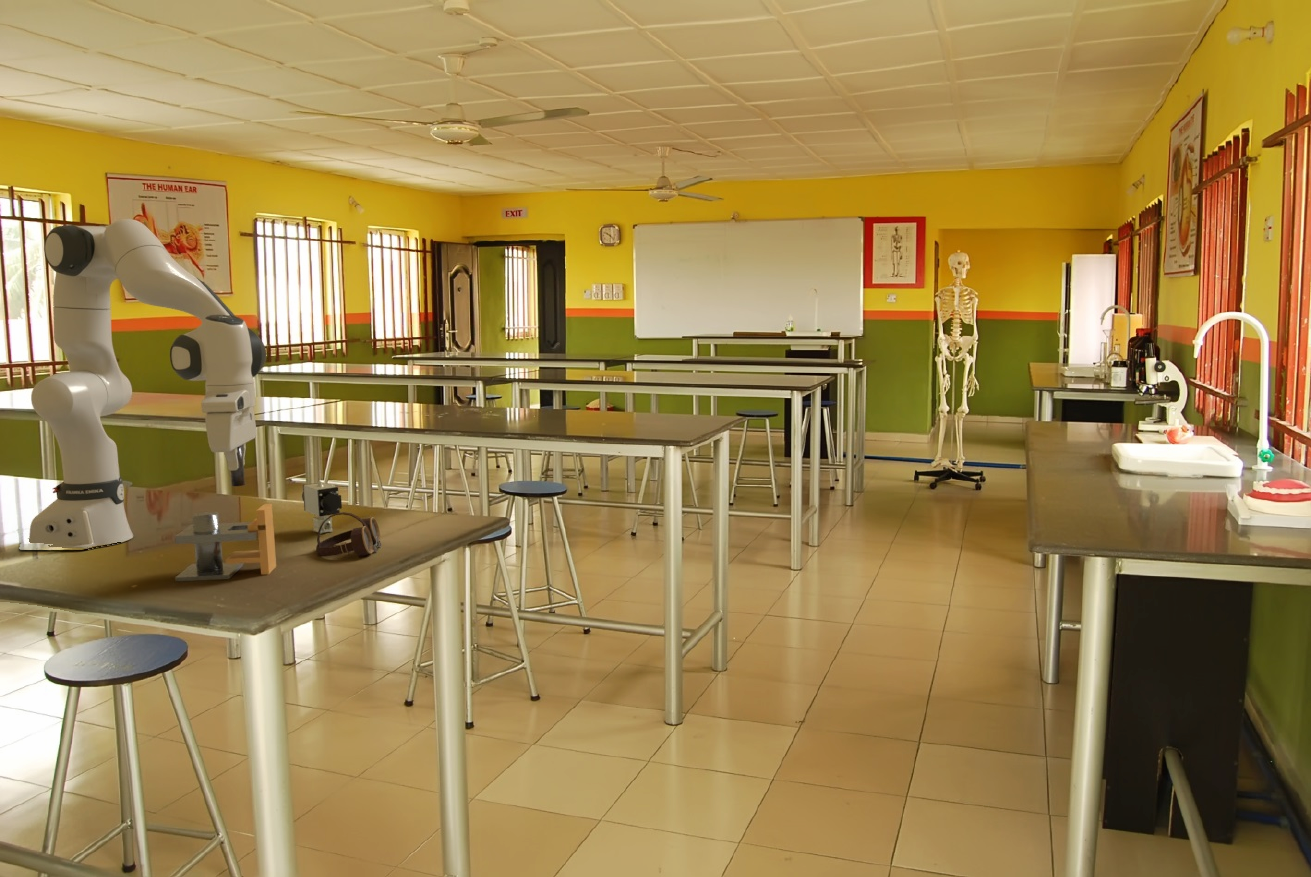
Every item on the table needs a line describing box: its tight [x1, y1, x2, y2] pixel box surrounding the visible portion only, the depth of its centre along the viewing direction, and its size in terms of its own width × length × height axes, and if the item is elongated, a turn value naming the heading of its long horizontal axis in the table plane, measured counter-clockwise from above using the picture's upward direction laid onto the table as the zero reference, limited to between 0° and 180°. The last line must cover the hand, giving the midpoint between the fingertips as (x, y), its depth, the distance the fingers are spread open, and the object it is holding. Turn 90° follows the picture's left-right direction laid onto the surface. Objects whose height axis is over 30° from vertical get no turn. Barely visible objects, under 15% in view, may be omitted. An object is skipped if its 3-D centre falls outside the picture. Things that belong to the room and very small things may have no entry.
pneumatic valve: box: [301, 480, 343, 535], centre depth 234 cm, size 6×12×12 cm, turn 42°
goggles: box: [315, 511, 382, 558], centre depth 215 cm, size 15×13×10 cm
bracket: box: [225, 503, 277, 576], centre depth 200 cm, size 8×6×13 cm
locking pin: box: [230, 445, 246, 487], centre depth 198 cm, size 2×2×8 cm
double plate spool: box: [173, 511, 259, 582], centre depth 200 cm, size 16×10×12 cm, turn 97°
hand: (236, 468), depth 198 cm, fingers closed on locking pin, 2 cm apart
